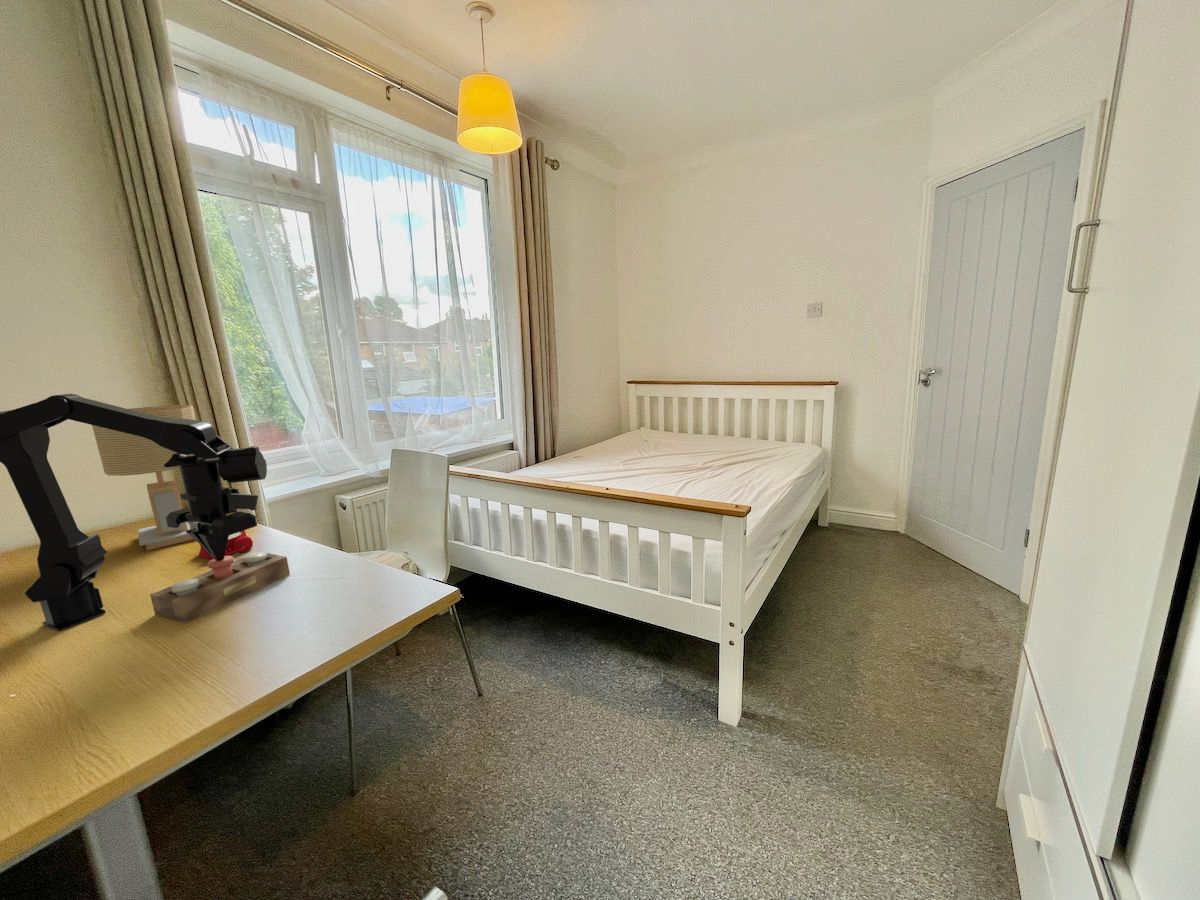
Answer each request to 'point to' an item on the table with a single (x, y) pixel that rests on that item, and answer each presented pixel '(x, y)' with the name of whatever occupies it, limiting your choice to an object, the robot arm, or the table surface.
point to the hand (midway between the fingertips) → (220, 560)
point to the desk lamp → (147, 457)
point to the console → (219, 589)
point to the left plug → (185, 587)
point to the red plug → (221, 567)
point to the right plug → (255, 558)
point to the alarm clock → (232, 545)
